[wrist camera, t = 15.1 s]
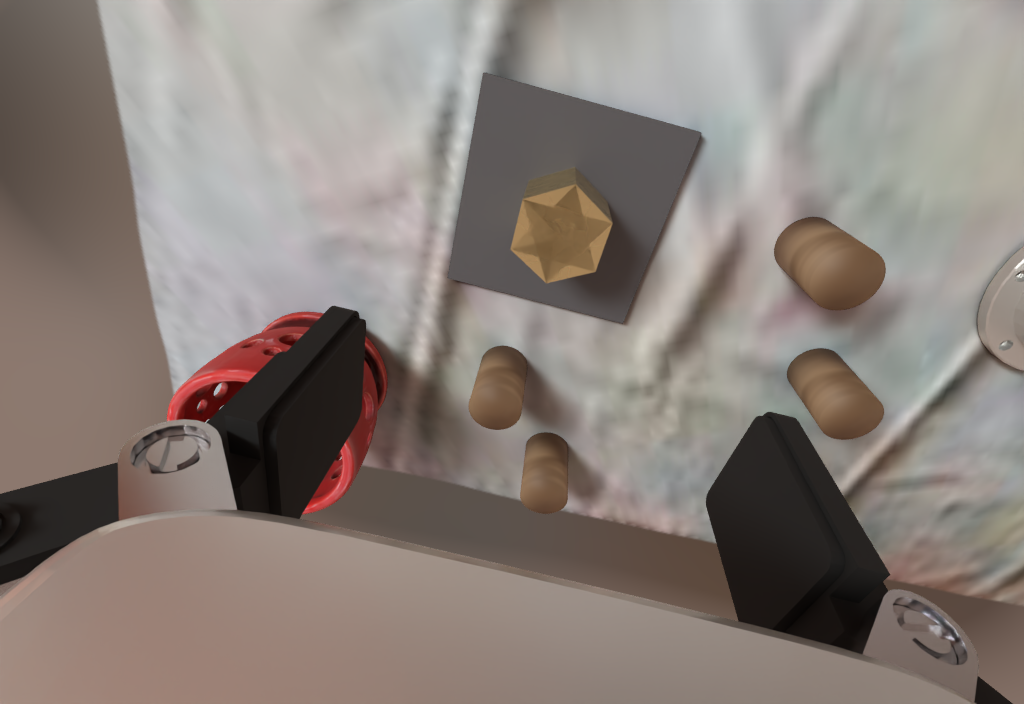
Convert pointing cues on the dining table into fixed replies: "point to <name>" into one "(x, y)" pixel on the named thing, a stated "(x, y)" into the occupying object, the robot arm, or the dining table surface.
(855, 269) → the cylinder
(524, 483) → the cylinder
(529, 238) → the tan faceted block
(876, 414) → the cylinder
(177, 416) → the plant pot
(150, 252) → the dining table surface
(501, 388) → the cylinder
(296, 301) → the dining table surface
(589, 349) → the dining table surface
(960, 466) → the dining table surface
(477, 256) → the mat
